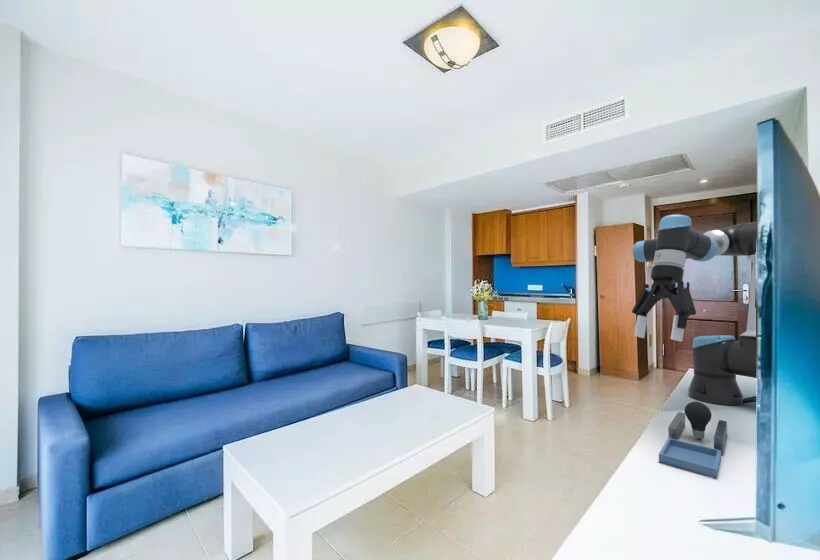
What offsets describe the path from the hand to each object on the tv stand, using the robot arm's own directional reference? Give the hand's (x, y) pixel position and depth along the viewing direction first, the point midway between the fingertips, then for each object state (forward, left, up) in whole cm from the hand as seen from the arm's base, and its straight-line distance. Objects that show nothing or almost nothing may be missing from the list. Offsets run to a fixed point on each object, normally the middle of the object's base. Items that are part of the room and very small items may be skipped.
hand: (656, 338), depth 99 cm
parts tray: (-4, +16, -27) cm, 31 cm away
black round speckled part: (-9, +1, -27) cm, 28 cm away
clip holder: (-9, +1, -26) cm, 28 cm away
